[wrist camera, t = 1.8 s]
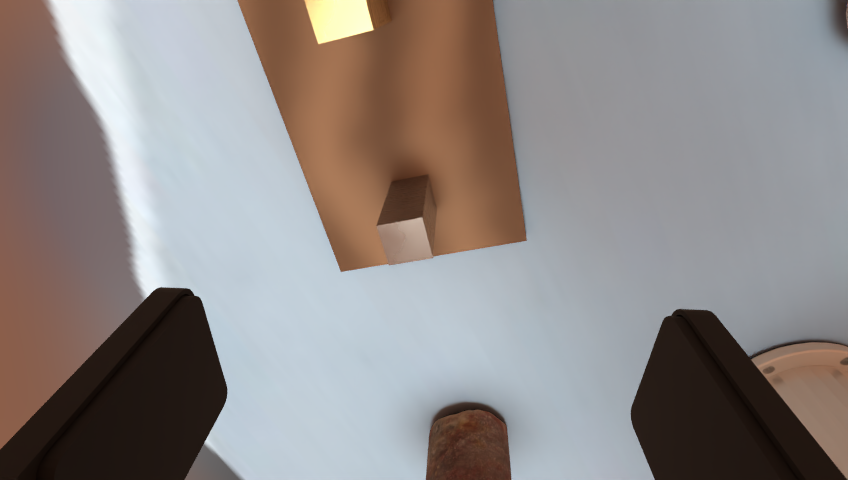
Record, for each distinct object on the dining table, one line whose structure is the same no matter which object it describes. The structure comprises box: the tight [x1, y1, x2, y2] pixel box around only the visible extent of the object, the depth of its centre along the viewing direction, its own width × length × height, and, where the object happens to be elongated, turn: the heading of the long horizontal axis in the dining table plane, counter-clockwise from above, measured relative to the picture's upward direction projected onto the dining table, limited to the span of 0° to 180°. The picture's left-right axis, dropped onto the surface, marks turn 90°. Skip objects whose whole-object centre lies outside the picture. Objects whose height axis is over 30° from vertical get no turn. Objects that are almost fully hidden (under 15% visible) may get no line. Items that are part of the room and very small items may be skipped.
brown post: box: [376, 174, 437, 265], centre depth 28 cm, size 3×3×6 cm
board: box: [238, 0, 527, 272], centre depth 28 cm, size 14×22×1 cm, turn 13°
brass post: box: [304, 0, 392, 44], centre depth 22 cm, size 3×3×6 cm
